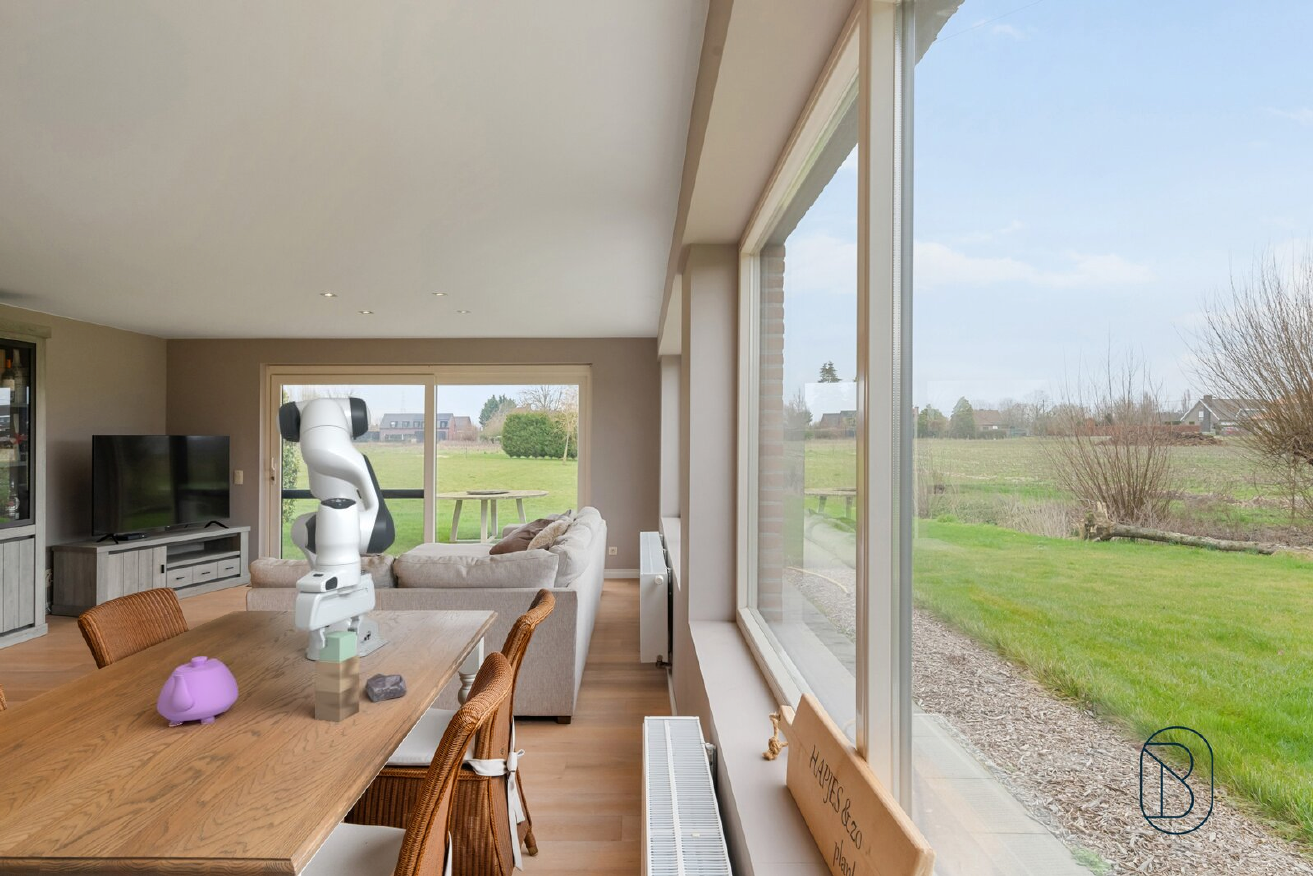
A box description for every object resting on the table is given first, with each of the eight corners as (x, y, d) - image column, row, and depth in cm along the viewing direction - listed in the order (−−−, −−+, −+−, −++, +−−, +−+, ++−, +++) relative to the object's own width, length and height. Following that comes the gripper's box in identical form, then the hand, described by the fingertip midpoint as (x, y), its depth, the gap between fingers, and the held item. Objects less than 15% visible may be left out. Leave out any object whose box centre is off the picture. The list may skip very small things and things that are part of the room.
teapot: (213, 736, 136) (214, 671, 136) (131, 742, 133) (132, 676, 133) (252, 700, 155) (252, 644, 156) (181, 704, 153) (182, 647, 153)
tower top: (335, 681, 150) (335, 653, 150) (359, 683, 148) (359, 655, 148) (315, 690, 144) (315, 661, 144) (339, 692, 142) (339, 663, 143)
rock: (397, 684, 166) (397, 665, 166) (410, 698, 157) (410, 678, 157) (360, 691, 161) (360, 672, 161) (372, 706, 152) (372, 685, 152)
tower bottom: (335, 709, 150) (335, 681, 150) (359, 711, 148) (359, 683, 148) (314, 719, 144) (315, 690, 144) (339, 722, 142) (339, 692, 142)
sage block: (336, 654, 149) (336, 630, 149) (355, 655, 148) (356, 632, 148) (319, 660, 144) (319, 636, 145) (339, 662, 143) (339, 638, 143)
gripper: (358, 567, 157) (358, 628, 157) (289, 584, 138) (288, 654, 137) (382, 568, 156) (382, 630, 156) (315, 585, 136) (315, 656, 136)
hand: (337, 641), depth 146 cm, fingers open, 8 cm apart
